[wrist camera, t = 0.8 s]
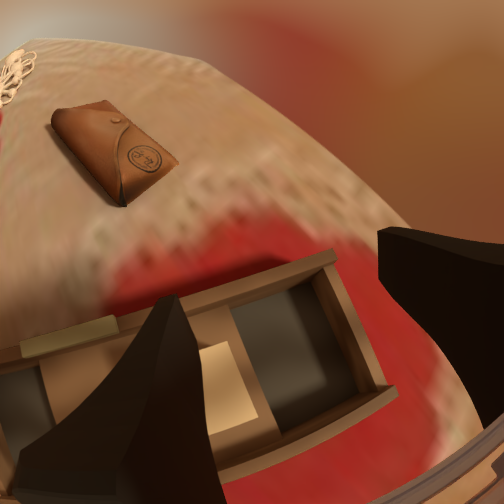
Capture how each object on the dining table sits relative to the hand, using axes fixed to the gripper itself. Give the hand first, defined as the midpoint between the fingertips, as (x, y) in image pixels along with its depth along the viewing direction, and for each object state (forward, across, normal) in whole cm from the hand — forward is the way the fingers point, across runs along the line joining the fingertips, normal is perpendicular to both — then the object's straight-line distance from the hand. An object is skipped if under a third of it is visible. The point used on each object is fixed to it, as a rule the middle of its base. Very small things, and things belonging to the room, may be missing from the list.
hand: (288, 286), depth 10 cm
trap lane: (+7, +10, +12) cm, 17 cm away
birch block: (+6, +6, +11) cm, 14 cm away
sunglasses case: (+28, +11, -6) cm, 31 cm away
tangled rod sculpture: (+45, +33, -28) cm, 62 cm away
